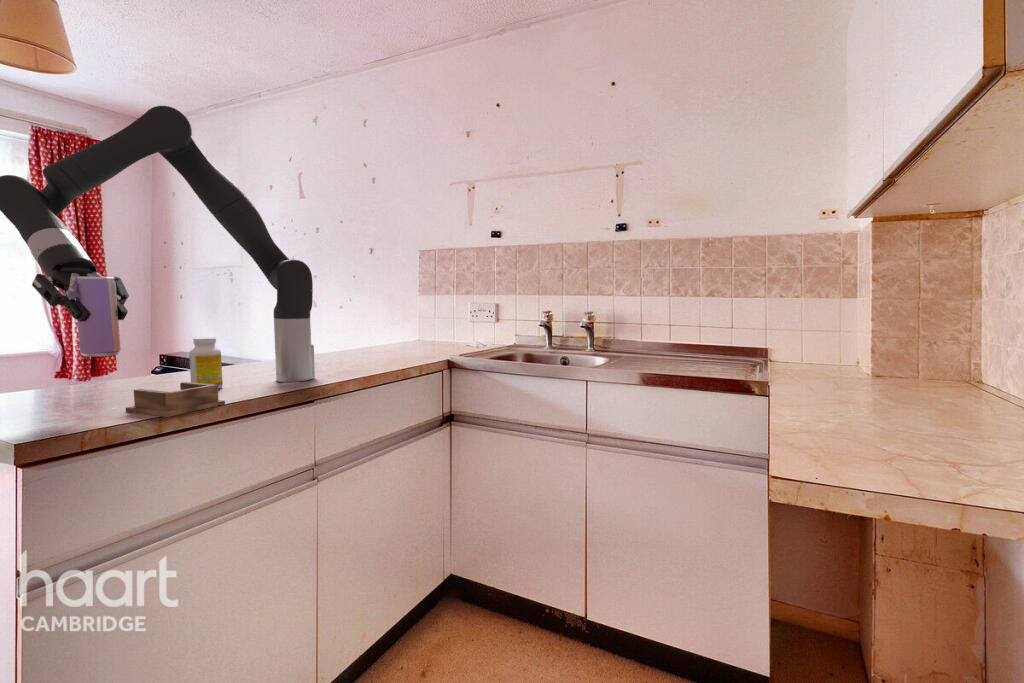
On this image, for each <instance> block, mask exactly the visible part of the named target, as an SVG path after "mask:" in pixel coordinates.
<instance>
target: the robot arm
mask: <svg viewBox="0 0 1024 683" xmlns="http://www.w3.org/2000/svg"><path fill="white" fill-rule="evenodd" d="M192 128H193V127H192V124H191V122H190V120H189V119H188V117H187V116H186V115H185V114H184V113H183V112H181V111H180V110H178V109H177V108H175V107H172V106H169V105H168V106H167V105H156V106H153V107H151V108H149V109H148V110H147V111H146V112H145V113H144V114H142V115H141V116H139V117H138V118H137V119H135V120H134V121H133V122H132V123H130V124H129V125H127V126H125V127H124V128H123V129H121V130H118V131H117V132H116V133H114V134H112V135H110V136H109V137H107V138H105V139H102V140H100V141H98V142H96V143H93V144H92V145H90V146H88V147H85V148H82V149H80V150H78V151H76V152H74V153H71V154H70V155H67V156H65V157H63V158H61V159H58V160H57V161H55V162H52V163H50V164H48V165H47V166H45V167H44V168H43V169H42V175H43V177H44V180H46V185H45V186H44V187H43V189H42V190H39V189H38V188H37V187H36V186H35V185H34V184H33V183H31V182H30V181H29V180H28V179H25V178H24V177H21V176H18V175H12V174H5V175H0V212H1V213H2V214H3V215H4V216H5V217H6V219H8V221H9V222H11V224H12V225H13V226H14V228H16V230H17V231H18V233H19V235H20V236H21V238H22V239H23V241H24V243H25V244H26V245H27V247H28V248H29V251H30V253H31V255H32V256H33V258H34V260H35V262H36V263H37V264H38V265H39V267H40V269H41V270H42V272H43V273H44V274H45V275H44V274H42V273H37V274H36V275H35V277H34V280H33V281H32V283H31V286H32V287H33V288H34V289H35V290H36V291H37V293H38V294H39V295H40V296H41V297H42V298H43V299H44V300H45V301H46V302H47V303H48V304H49V305H50V306H53V307H57V306H62V307H63V308H65V309H67V311H68V312H69V314H70V315H71V317H72V318H74V319H75V320H77V322H78V321H79V322H81V321H85V319H86V317H87V312H86V310H85V309H84V308H83V306H82V305H81V303H80V302H79V301H78V300H76V294H75V280H76V278H75V277H104V276H103V275H101V274H99V272H98V271H97V270H98V269H97V268H96V265H95V263H94V262H93V260H92V259H91V257H90V256H89V254H87V252H86V250H85V249H84V247H83V246H82V245H81V243H80V242H79V241H78V240H77V238H75V236H74V235H72V234H71V232H70V231H69V229H68V228H67V226H66V225H65V223H64V222H63V221H62V220H61V219H60V218H59V217H58V216H59V215H60V214H61V213H62V212H63V211H64V210H65V209H66V208H67V207H68V206H70V204H72V203H73V202H74V200H76V198H78V197H79V196H82V195H84V194H85V193H87V192H89V191H91V190H93V189H95V188H97V187H99V186H100V185H102V184H104V183H106V182H107V181H109V180H110V179H112V178H114V177H115V176H117V175H118V174H120V173H121V172H123V171H124V170H126V169H128V168H129V167H130V166H132V165H134V164H136V163H137V162H139V161H140V160H142V159H144V158H147V157H149V156H151V155H154V154H160V156H162V157H163V158H164V159H165V160H166V161H167V162H168V164H170V165H171V166H172V167H173V168H174V169H175V170H176V171H177V172H178V173H179V174H180V175H181V177H182V178H184V180H185V181H186V183H187V184H188V185H189V186H190V188H191V190H192V191H193V192H194V193H195V195H196V196H197V197H198V199H199V200H200V201H201V202H202V204H203V205H204V206H205V208H206V209H207V210H208V211H209V212H210V214H211V215H212V216H213V217H214V218H215V220H217V222H218V223H219V224H220V225H221V226H222V228H224V230H225V231H226V232H228V234H229V235H230V236H231V237H232V238H233V240H235V242H236V243H237V244H238V245H239V246H241V248H242V249H243V250H244V251H245V252H246V253H247V254H248V255H249V256H250V257H251V259H252V260H253V261H254V262H255V264H256V265H257V267H258V268H259V270H260V271H261V272H262V273H263V276H264V277H265V279H267V281H268V282H269V284H270V285H271V287H272V288H274V290H276V302H275V307H274V308H273V330H274V353H275V354H274V356H275V359H274V362H275V381H276V382H279V383H280V382H281V383H291V382H292V383H293V382H294V383H295V382H296V383H298V382H303V381H304V382H306V381H310V380H312V379H314V378H316V375H315V374H316V372H315V346H314V344H312V335H311V334H312V332H311V331H312V329H311V327H312V326H311V325H312V324H311V312H312V311H311V310H312V309H313V302H314V301H313V296H314V294H313V292H314V289H313V285H314V284H313V275H312V272H311V269H310V267H309V265H307V264H306V263H305V262H304V261H302V260H299V259H293V258H292V259H290V258H289V257H288V256H287V255H286V254H285V253H284V252H283V251H282V250H281V249H280V248H279V246H278V245H277V244H276V243H275V241H274V240H273V238H272V237H271V234H270V232H269V231H268V228H267V226H266V224H265V222H264V219H263V218H262V216H261V214H260V213H259V211H258V210H257V209H256V207H255V206H254V204H253V203H252V202H251V200H250V199H249V198H248V197H247V196H246V195H245V193H244V192H243V191H242V190H241V189H240V188H239V187H238V185H236V184H235V183H234V182H233V181H232V180H231V179H230V178H229V177H227V176H226V174H224V173H223V172H222V171H220V170H219V169H218V168H217V167H216V166H214V164H213V163H211V162H210V160H209V159H208V158H207V157H206V155H205V154H204V153H203V151H202V150H201V148H199V146H198V145H197V143H196V141H194V138H193V137H192V135H193V133H192V132H193V129H192ZM113 278H114V281H115V283H116V294H117V307H118V321H124V320H125V318H126V317H127V314H128V312H129V311H128V309H127V308H126V307H125V304H126V302H127V300H128V298H129V297H130V295H129V293H128V290H127V289H126V286H125V283H124V282H123V281H122V278H120V277H119V276H114V277H113ZM59 289H60V290H62V291H63V293H62V292H60V290H59Z"/></svg>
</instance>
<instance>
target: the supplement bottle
mask: <svg viewBox="0 0 1024 683" xmlns="http://www.w3.org/2000/svg"><path fill="white" fill-rule="evenodd" d="M192 342H193V344H194V348H192V349H191V350H190V351H189V352H188V353H189V355H188V357H189V367H190V368H189V370H190V371H189V372H190V374H189V375H190V382H192V383H203V384H215V385H218V390H221V389H222V388H223V386H224V385H223V384H224V383H223V382H224V381H223V366H222V364H223V363H222V351H221V349H220V348H219V347H216V343H217V338H216V337H194V338H193V340H192Z"/></svg>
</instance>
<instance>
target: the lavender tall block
mask: <svg viewBox="0 0 1024 683" xmlns="http://www.w3.org/2000/svg"><path fill="white" fill-rule="evenodd" d="M75 278H76V280H75V294H76V299H75V300H78V301H79V302H80V303H81V305H82V306H83V308H84V309H85V310H86V312H87V317H86V319H85V321H81V322H79V321H78V320H77V331H78V342H79V343H78V344H79V353H80V355H81V356H83V357H90V358H91V357H92V358H93V357H107V356H108V357H109V356H116V355H119V354H120V352H121V350H122V349H121V339H120V324H119V321H120V320H118V307H117V294H116V283H115V281H114V277H112V276H111V277H110V276H109V277H108V276H103V277H75Z"/></svg>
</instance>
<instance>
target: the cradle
mask: <svg viewBox="0 0 1024 683" xmlns="http://www.w3.org/2000/svg"><path fill="white" fill-rule="evenodd" d="M179 385H180V387H179V388H180V389H179V390H174V391H164V390H163V391H162V390H153V389H144V388H137V389H133V399H134V400H133V401H134V403H133V404H134V405H133V406H128V407H125V412H126V411H128V412H127V413H133V412H135V414H140V413H141V414H142V415H148V414H149V415H150V416H156V415H159V416H158V417H162V418H163V417H164V418H168V417H172V416H178V415H182V414H187V413H192V412H195V411H201V410H205V409H210V408H215V407H218V405H220V406H223V404H224V405H225V404H226V401H225V400H224V399H223V400H221V399H219V389H218V385H215V384H203V383H192V382H191V381H184V382H183V381H182V382H179Z"/></svg>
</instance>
